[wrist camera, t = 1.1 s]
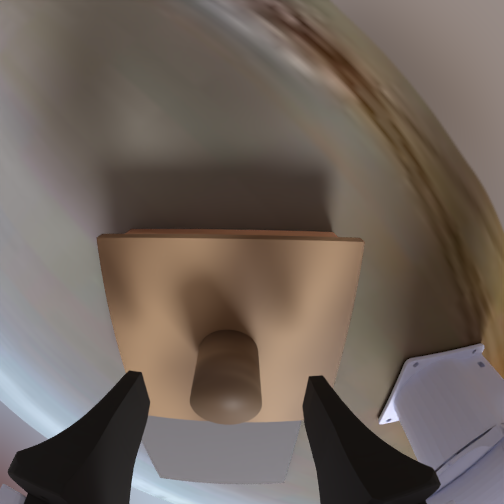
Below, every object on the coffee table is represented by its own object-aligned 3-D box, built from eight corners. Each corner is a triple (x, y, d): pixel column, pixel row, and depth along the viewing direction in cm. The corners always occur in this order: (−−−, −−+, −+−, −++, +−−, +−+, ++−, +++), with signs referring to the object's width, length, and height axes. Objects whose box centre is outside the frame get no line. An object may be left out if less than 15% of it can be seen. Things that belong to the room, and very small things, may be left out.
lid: (360, 238, 13) (401, 274, 9) (321, 411, 17) (334, 460, 13) (102, 233, 12) (56, 267, 9) (141, 407, 17) (127, 455, 13)
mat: (304, 403, 20) (304, 407, 20) (283, 480, 25) (283, 482, 25) (125, 395, 20) (124, 398, 19) (160, 474, 25) (160, 477, 24)
